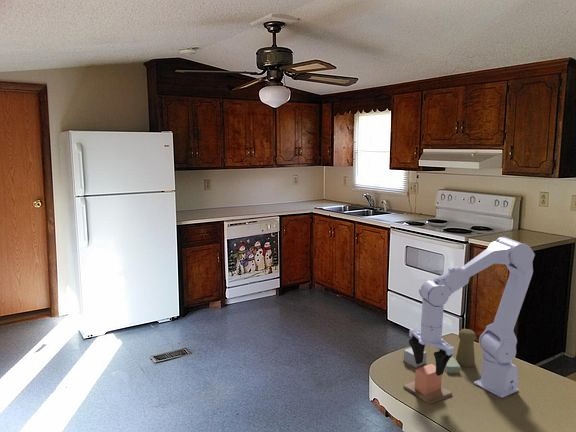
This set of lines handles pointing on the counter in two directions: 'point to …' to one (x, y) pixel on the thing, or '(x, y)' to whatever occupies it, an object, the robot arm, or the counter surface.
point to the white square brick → (411, 359)
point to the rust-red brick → (427, 379)
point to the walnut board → (429, 397)
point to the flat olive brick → (452, 366)
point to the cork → (466, 348)
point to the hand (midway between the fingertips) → (429, 368)
